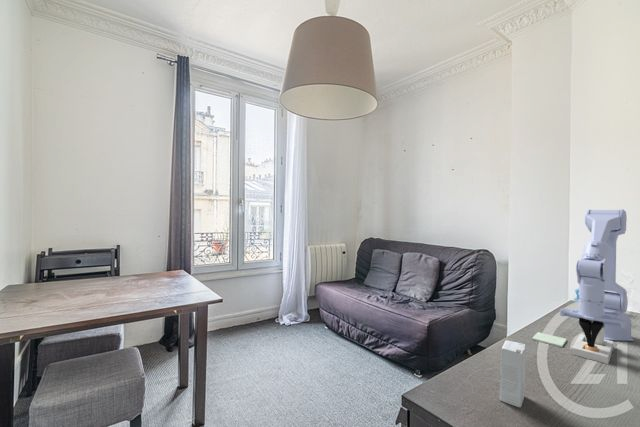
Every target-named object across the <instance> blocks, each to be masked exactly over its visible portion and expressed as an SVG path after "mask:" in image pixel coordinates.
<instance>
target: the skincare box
mask: <svg viewBox="0 0 640 427" xmlns="http://www.w3.org/2000/svg"><path fill="white" fill-rule="evenodd" d="M500 352H501V353H500V371H499V372H500V376H499V401H501V402H503V403H505V404H508V405H511V406H514V407H517V408H522V405H523V403H524V398H525V395H526V362H527V345H526V344H525V343H520V342H517V341H512V340H507V339H505V341H504V343H503V345H502V347H501V348H500Z"/></svg>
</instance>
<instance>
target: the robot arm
mask: <svg viewBox="0 0 640 427" xmlns="http://www.w3.org/2000/svg"><path fill="white" fill-rule="evenodd" d="M627 221H628V220H627V212H626V210H624V209H588V210H586V211H585V214H584V224H585V226H586V227H587V230H588V231H589V233H591V234H590V240H589V241H588V242H586V243H585V245H584V247H583V251H582V254H581V259H580V260H578V259H577V261H576V266H575V272H576V276H577V284H578V289H579V293H578V294H579V302H578V310H577V309H567V308H561V309H560V310H559V312H560V313H559V315H560V317H568V318H574V319H579V320H578V323H579V326H580V327H581V330H582V331H583V335H585V336H586V339H587V344H588V346H591V347H594V346H595V340H596V337H597V335H598V333H599V332H600V330H601V329H602V327H603V325H604V324H605V327H604V339H605V340H610V341H624V342H625V341H627V342H628V341H630V342H632V341H633V342H634V338H632V320H631V317H630V315H629V314H628V313H626V312H627V311H628V306H629V305H628V292H627V290H626V288H624V287H623V286H622V285H620V284H618V283H617V282H616V280H617V279H616V278H617V277H616V276H617V241H618V237H619V236H622V235H625V234H626V232H627ZM592 321H593V322H592Z"/></svg>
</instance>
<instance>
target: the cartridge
mask: <svg viewBox="0 0 640 427" xmlns="http://www.w3.org/2000/svg"><path fill="white" fill-rule="evenodd" d="M592 322H593V321H592ZM604 327H605V324H604V325H603V327H602V329H601V330H600V332H599V333H598V335H597V337H596V340H595V344H597V345H601V346H604ZM585 342H587V339H586V336H585Z"/></svg>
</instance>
